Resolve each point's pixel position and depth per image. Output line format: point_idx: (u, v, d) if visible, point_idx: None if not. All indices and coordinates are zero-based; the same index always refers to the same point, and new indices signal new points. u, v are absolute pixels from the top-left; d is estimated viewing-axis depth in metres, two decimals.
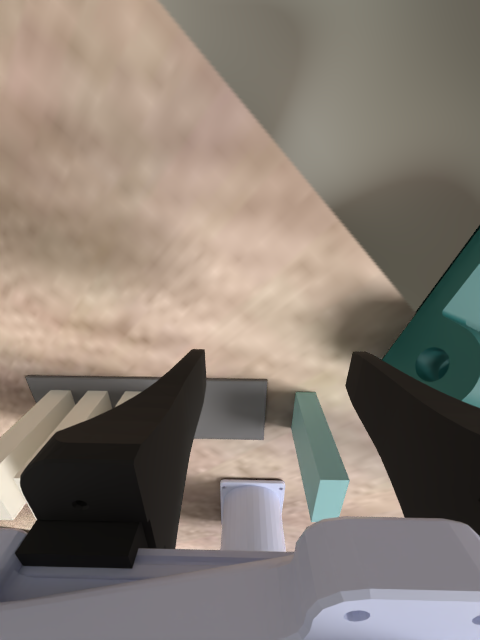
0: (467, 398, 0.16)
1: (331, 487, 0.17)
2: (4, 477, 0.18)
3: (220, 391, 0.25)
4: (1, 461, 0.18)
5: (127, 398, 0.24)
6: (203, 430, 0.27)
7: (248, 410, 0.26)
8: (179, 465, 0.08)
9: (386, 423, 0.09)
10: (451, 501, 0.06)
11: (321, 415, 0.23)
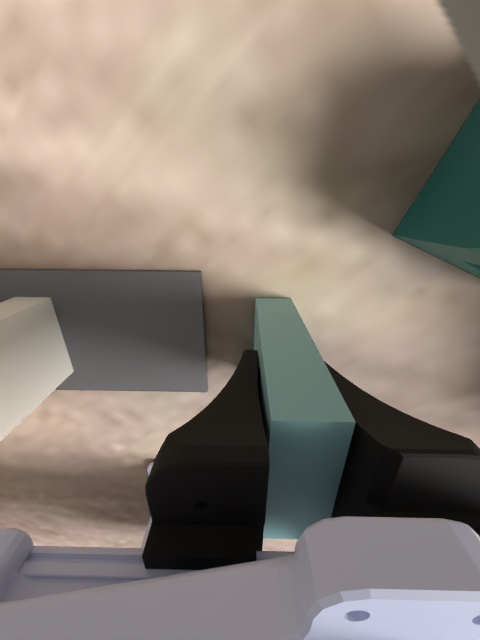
0: None
1: (304, 444, 0.06)
2: None
3: (117, 294, 0.14)
4: None
5: None
6: (103, 375, 0.16)
7: (174, 334, 0.15)
8: None
9: None
10: (352, 499, 0.06)
11: (296, 320, 0.11)
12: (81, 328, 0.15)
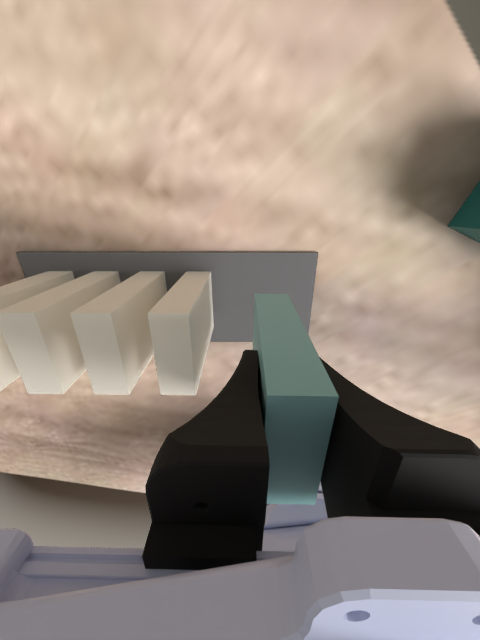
0: None
1: (296, 416, 0.07)
2: None
3: (258, 268, 0.20)
4: None
5: (143, 274, 0.19)
6: (234, 329, 0.22)
7: (291, 298, 0.21)
8: None
9: None
10: (352, 499, 0.06)
11: (292, 313, 0.12)
12: (227, 294, 0.21)
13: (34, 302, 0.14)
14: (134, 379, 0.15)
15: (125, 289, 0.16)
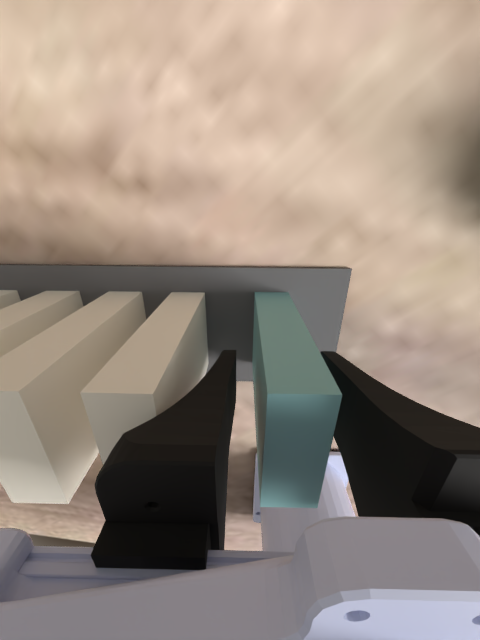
0: None
1: (298, 415, 0.07)
2: None
3: (269, 289, 0.15)
4: None
5: (111, 296, 0.14)
6: (236, 366, 0.17)
7: (312, 327, 0.16)
8: (225, 466, 0.08)
9: (345, 422, 0.09)
10: (392, 500, 0.06)
11: (292, 311, 0.12)
12: (226, 321, 0.16)
13: None
14: (81, 472, 0.10)
15: (72, 328, 0.10)
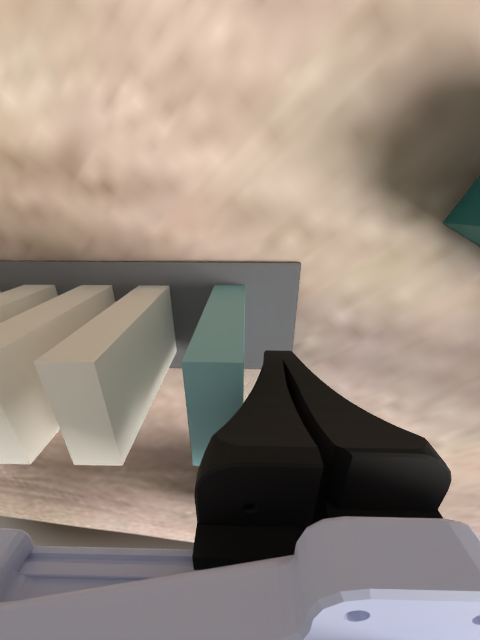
0: None
1: (210, 381, 0.08)
2: None
3: (227, 282, 0.16)
4: None
5: (82, 289, 0.16)
6: None
7: (269, 318, 0.17)
8: None
9: None
10: None
11: (239, 300, 0.14)
12: (190, 312, 0.17)
13: None
14: (44, 438, 0.11)
15: (39, 314, 0.12)
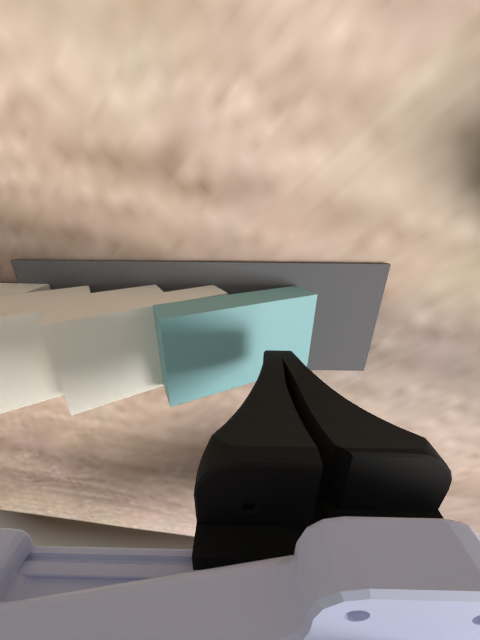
0: None
1: (157, 325, 0.12)
2: None
3: (313, 283, 0.16)
4: None
5: (141, 289, 0.15)
6: None
7: (350, 319, 0.17)
8: None
9: None
10: None
11: (270, 299, 0.14)
12: None
13: None
14: (17, 402, 0.13)
15: (63, 302, 0.13)
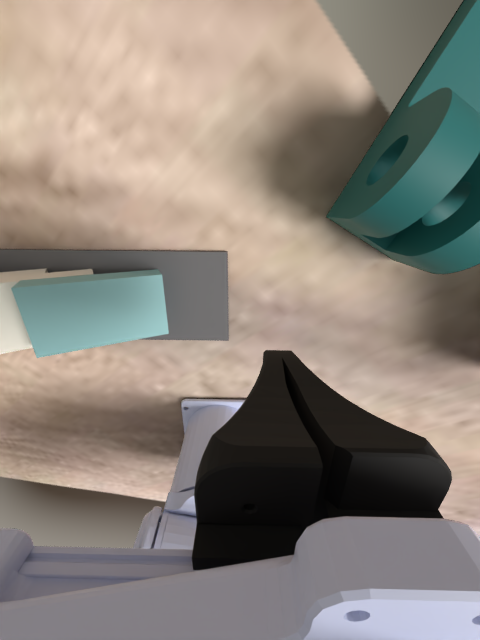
0: (424, 156, 0.11)
1: None
2: None
3: (170, 267, 0.20)
4: None
5: (29, 271, 0.20)
6: None
7: (207, 296, 0.21)
8: None
9: None
10: None
11: (117, 277, 0.18)
12: None
13: None
14: None
15: None
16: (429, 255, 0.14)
